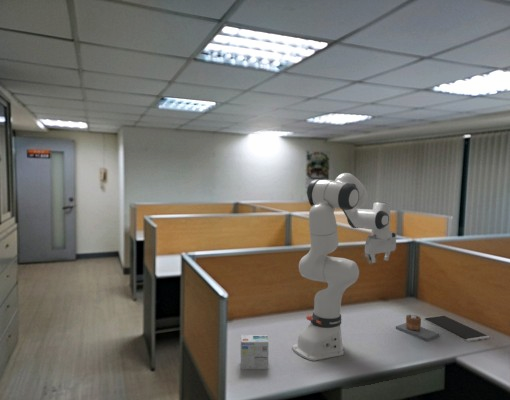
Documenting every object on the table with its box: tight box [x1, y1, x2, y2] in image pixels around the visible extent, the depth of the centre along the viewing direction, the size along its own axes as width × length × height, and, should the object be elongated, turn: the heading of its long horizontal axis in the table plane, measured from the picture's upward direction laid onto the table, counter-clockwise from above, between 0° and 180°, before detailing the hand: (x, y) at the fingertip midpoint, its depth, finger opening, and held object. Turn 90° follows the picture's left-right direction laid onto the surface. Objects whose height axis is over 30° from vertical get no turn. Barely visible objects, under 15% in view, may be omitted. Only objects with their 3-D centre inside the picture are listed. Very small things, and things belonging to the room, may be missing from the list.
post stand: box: [395, 314, 440, 342], centre depth 168 cm, size 10×16×7 cm, turn 33°
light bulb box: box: [240, 334, 269, 370], centre depth 136 cm, size 11×7×11 cm, turn 92°
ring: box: [405, 314, 422, 330], centre depth 169 cm, size 6×6×5 cm
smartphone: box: [423, 315, 491, 343], centre depth 173 cm, size 13×27×2 cm, turn 17°
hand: (380, 261), depth 179 cm, fingers open, 8 cm apart
